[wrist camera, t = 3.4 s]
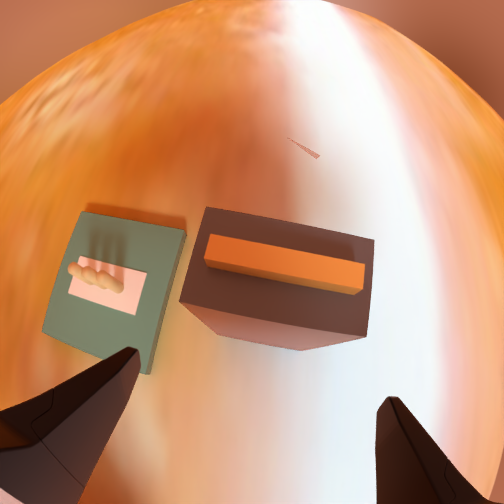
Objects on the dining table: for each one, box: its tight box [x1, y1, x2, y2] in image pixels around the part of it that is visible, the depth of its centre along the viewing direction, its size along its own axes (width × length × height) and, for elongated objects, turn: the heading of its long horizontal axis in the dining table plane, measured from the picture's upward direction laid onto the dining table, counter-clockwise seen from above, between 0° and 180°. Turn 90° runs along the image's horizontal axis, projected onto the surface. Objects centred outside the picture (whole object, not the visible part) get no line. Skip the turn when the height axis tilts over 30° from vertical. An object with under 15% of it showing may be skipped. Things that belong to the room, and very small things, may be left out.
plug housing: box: [179, 207, 374, 351], centre depth 15 cm, size 3×6×13 cm, turn 78°
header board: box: [42, 211, 187, 375], centre depth 19 cm, size 11×10×4 cm
